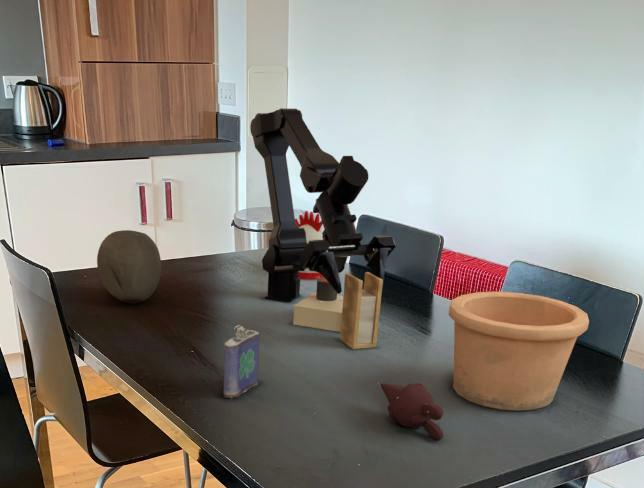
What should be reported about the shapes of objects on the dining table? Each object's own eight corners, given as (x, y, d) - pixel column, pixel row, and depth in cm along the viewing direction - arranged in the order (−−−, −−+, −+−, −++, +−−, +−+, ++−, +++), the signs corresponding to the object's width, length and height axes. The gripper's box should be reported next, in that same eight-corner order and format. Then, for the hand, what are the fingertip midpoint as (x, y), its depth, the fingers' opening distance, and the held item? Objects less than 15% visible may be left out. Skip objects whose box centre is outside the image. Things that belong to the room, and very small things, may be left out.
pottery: (481, 361, 147) (495, 284, 140) (592, 395, 134) (613, 312, 127) (412, 389, 134) (423, 305, 126) (527, 430, 120) (547, 339, 113)
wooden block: (291, 324, 163) (292, 304, 161) (313, 309, 174) (314, 290, 171) (356, 334, 159) (358, 314, 157) (375, 318, 169) (377, 299, 167)
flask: (233, 399, 127) (233, 335, 121) (218, 396, 128) (217, 332, 123) (261, 382, 134) (263, 321, 129) (246, 379, 135) (247, 318, 130)
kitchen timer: (315, 282, 194) (318, 218, 186) (268, 273, 200) (270, 211, 193) (342, 272, 204) (346, 211, 196) (297, 263, 210) (300, 204, 203)
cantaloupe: (175, 304, 173) (172, 234, 165) (115, 313, 166) (110, 240, 158) (146, 290, 183) (143, 222, 175) (89, 297, 176) (83, 227, 168)
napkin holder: (339, 339, 155) (345, 273, 149) (362, 337, 157) (368, 272, 151) (353, 349, 151) (359, 281, 144) (376, 347, 152) (383, 279, 146)
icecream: (360, 374, 121) (420, 417, 111) (399, 356, 123) (462, 397, 113) (363, 411, 126) (421, 455, 115) (401, 393, 128) (461, 435, 117)
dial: (320, 294, 169) (321, 275, 167) (339, 297, 168) (341, 277, 166) (313, 299, 166) (314, 279, 164) (332, 302, 164) (334, 282, 162)
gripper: (360, 240, 164) (382, 307, 161) (280, 246, 157) (302, 316, 154) (384, 207, 154) (409, 278, 151) (300, 211, 147) (324, 285, 144)
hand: (360, 290), depth 150 cm, fingers open, 9 cm apart
